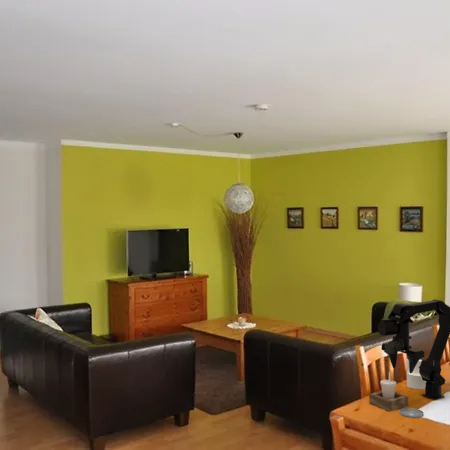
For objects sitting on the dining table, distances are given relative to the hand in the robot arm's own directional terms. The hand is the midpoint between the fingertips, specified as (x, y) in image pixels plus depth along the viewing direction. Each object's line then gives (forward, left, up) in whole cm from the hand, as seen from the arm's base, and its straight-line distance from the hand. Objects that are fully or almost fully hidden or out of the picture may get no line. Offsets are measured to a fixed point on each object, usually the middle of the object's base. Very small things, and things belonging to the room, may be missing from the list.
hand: (402, 370), depth 228 cm
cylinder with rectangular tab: (-22, -11, -13) cm, 28 cm away
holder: (+8, 0, -13) cm, 16 cm away
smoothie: (+8, 0, -13) cm, 16 cm away
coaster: (+8, +12, -13) cm, 20 cm away
